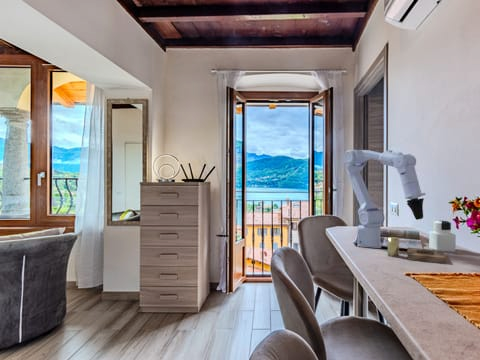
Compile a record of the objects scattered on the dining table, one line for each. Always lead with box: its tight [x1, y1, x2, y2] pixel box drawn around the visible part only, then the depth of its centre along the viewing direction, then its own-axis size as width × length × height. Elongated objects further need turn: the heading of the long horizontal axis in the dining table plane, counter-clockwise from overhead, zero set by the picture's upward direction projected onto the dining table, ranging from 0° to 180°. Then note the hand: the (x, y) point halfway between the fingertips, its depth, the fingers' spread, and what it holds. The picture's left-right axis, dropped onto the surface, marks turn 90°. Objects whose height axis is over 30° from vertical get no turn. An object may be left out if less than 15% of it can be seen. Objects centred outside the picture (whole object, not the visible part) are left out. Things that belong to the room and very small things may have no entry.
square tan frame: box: [406, 247, 447, 264], centre depth 124 cm, size 12×12×2 cm
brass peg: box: [387, 236, 400, 258], centre depth 127 cm, size 4×4×7 cm
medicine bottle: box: [428, 220, 457, 253], centre depth 136 cm, size 7×7×12 cm
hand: (419, 218), depth 123 cm, fingers open, 7 cm apart
